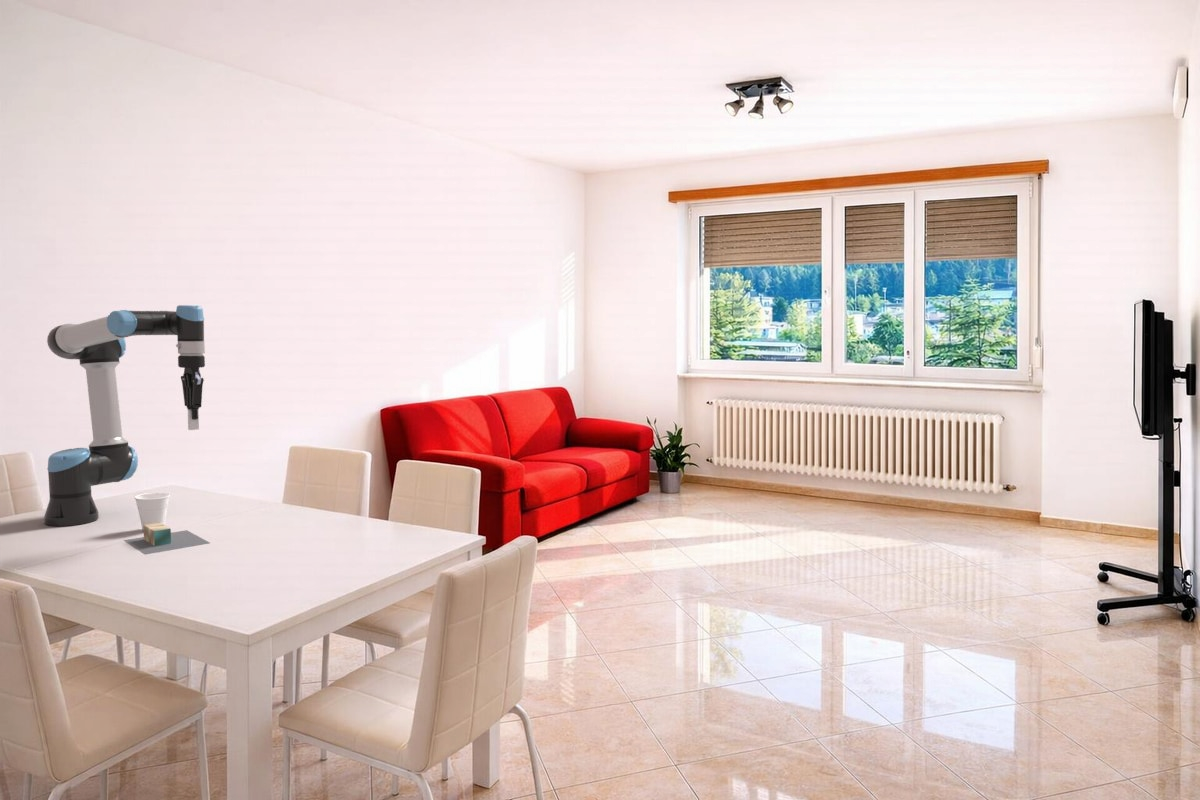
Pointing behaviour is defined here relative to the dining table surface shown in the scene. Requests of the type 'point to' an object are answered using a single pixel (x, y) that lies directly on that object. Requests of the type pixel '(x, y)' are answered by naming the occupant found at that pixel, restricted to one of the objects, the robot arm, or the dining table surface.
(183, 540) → the mat
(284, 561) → the dining table surface
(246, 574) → the dining table surface
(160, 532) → the beech block
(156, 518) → the cup
